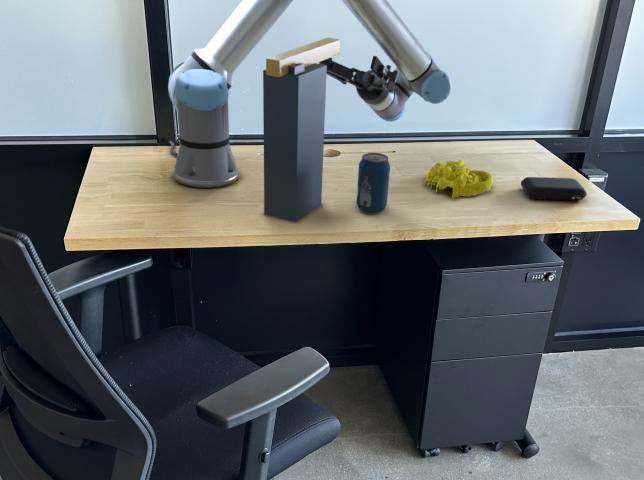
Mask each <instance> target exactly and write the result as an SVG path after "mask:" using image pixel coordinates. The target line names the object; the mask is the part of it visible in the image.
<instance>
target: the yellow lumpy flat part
mask: <svg viewBox="0 0 644 480" xmlns="http://www.w3.org/2000/svg"><path fill="white" fill-rule="evenodd" d="M424 183H425V184H424V185H425V186H426V185H427V187H429V186H431V185H433V186H436V188H435V193H437V192H438V189H439V191H440V190H444V189H448V188H447V187H449V188H451V189H452V195H451V198H452V199H454V198H455V199H456V198H458V197H462V196H463V197H471V196H477V195H482V194H484V193H486V192H489V191H490V190H491V189H492V186H493V175H492V174H491V173H490V172H488V171H485V170H478V169H472V168H471V167H466V164H465V160H462V159H459V160H457V161H453V160H448V161H446V162H445V164H444V163H441V162H439V161H437V162H436V163H435V164H434V166H432V167H431V168H430V169H429V171H428V172H427V175H426V178H425V182H424ZM430 189H431V190H432V187H430Z"/></svg>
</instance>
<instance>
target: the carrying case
mask: <svg viewBox="0 0 644 480" xmlns="http://www.w3.org/2000/svg"><path fill="white" fill-rule="evenodd" d="M520 186H521V187H522V188H523V190H524V192H525V194H526V195H527V197H528V198H530V199H532V200H545V201H546V200H549V201H550V200H551V201H582V200H583V199H585V198H586V197H587V195H588V192H587V191H586V189H585V188H584V186H582V184H581V182H579V181H578V180H577V179H575V178H573V177H572V178H569V177H544V176H543V177H541V176H527V177H524V178H523V179H522V180H521V181H520Z"/></svg>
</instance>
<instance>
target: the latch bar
mask: <svg viewBox="0 0 644 480" xmlns="http://www.w3.org/2000/svg"><path fill="white" fill-rule="evenodd" d="M340 50H341V39H340V38H335V37H334V38H333V37H325V38H323V39H319V40H316V41H313V42H310V43H308V44H304V45H301V46H298V47H295V48H292V49H289V50H287V51H283V52H281V53H278V54H275V55H272V56H269V57H265V67H266V68H265V69H266V75H270V76H275V77H281V76H284V75H287V74H289V67H290V66H292V65H295V64H298V63H303V64H304V68H305V67H307V66H310V65H313V64H315V63H317V64H319V62H320V61H323V60H326V59H328V58H333V57H336V56H338V55H340V52H341V51H340Z"/></svg>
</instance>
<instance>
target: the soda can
mask: <svg viewBox="0 0 644 480" xmlns="http://www.w3.org/2000/svg"><path fill="white" fill-rule="evenodd" d="M390 173H391V163H390V161H389V156H388V155H386V154H384V153H381V152H367V153H363V154H362V156H361V159H360V161H359V162H358V173H357V184H356V185H357V186H356V200H355V203H356V206H357V208H358V211H360V212H361V213H364V214H366V215H379V214H381V213H383V212H384V211H385V209H386V208H387V206H388V198H389V197H388V196H389V186H390V175H391V174H390Z"/></svg>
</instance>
